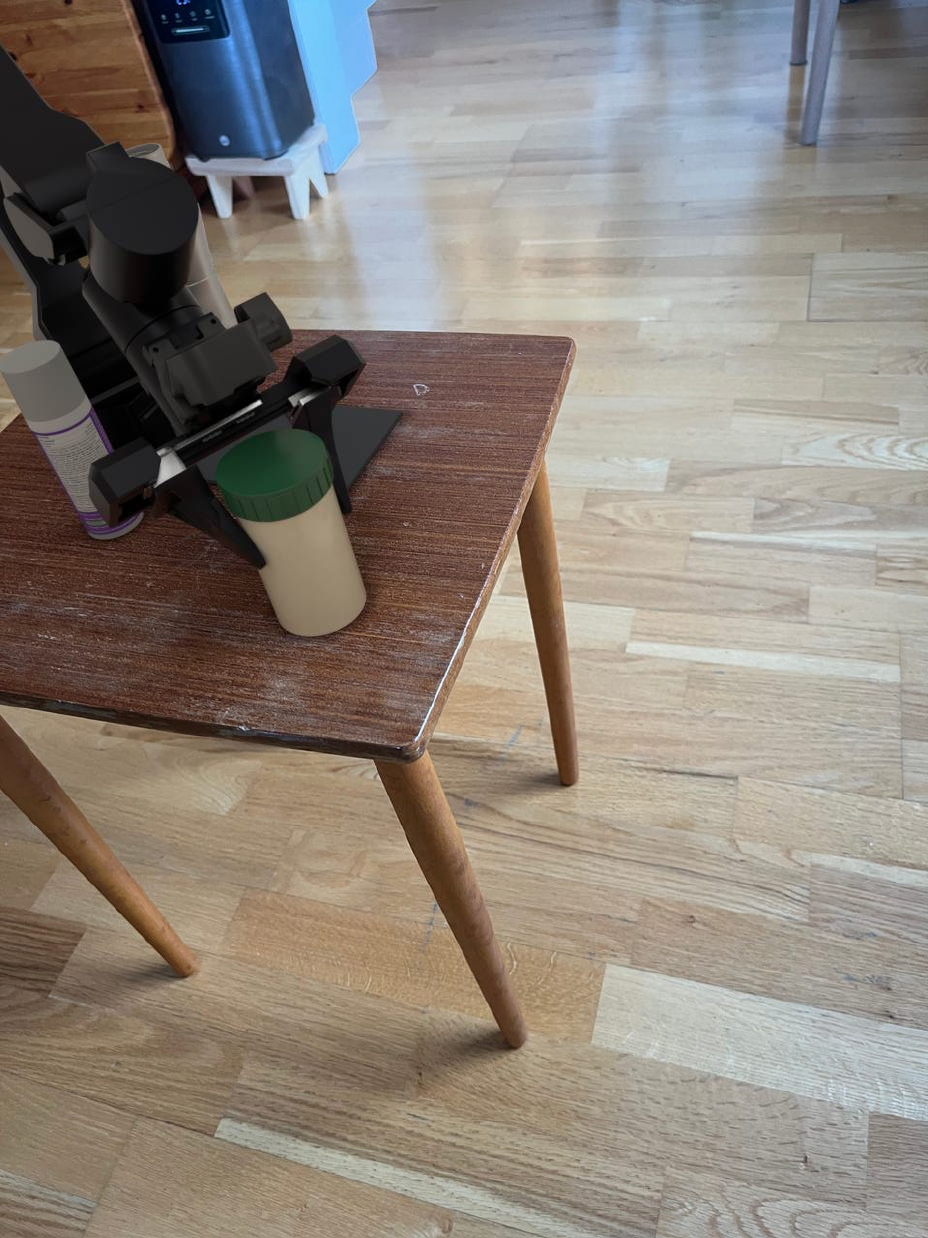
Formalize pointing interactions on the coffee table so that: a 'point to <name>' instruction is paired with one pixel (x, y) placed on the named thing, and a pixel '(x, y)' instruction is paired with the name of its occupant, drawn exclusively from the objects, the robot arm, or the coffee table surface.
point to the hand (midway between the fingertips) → (306, 540)
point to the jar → (310, 568)
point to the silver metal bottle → (196, 256)
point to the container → (61, 425)
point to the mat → (352, 435)
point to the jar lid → (275, 475)
